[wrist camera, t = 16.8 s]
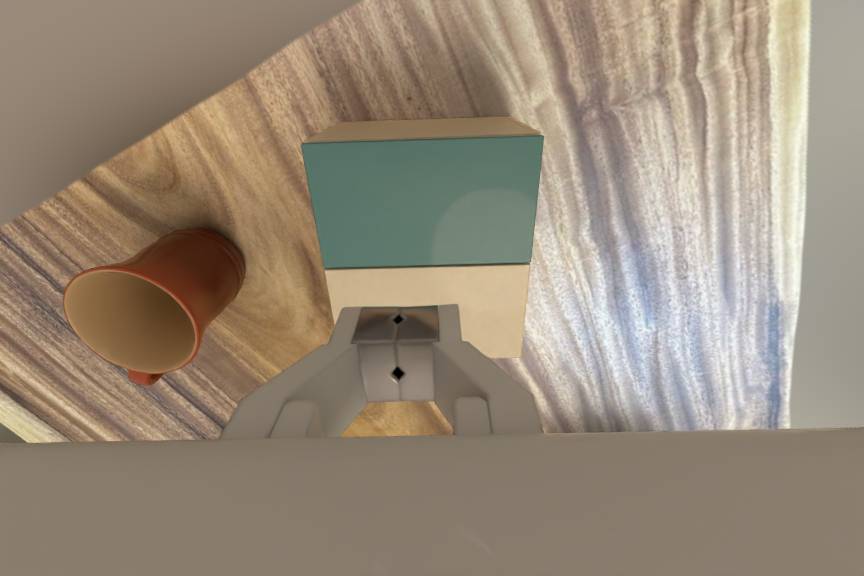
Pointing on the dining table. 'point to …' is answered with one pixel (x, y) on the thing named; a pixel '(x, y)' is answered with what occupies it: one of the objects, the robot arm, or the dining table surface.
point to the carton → (439, 284)
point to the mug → (155, 302)
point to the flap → (425, 200)
